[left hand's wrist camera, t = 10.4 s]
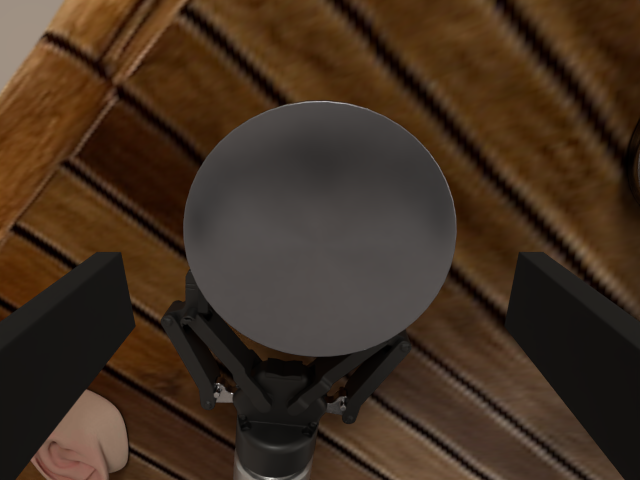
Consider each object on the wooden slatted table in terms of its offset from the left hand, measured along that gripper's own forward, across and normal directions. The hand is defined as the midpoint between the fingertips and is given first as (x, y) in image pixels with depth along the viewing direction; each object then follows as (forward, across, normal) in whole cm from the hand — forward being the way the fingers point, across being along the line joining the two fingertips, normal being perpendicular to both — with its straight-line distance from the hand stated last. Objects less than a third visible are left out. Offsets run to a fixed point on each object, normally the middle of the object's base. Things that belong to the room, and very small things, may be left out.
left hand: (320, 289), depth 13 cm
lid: (+4, 0, 0) cm, 4 cm away
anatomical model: (+23, +28, +30) cm, 47 cm away
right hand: (+16, +2, +4) cm, 17 cm away
